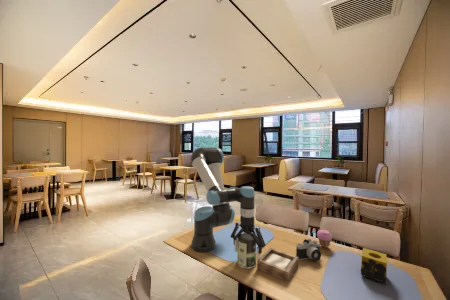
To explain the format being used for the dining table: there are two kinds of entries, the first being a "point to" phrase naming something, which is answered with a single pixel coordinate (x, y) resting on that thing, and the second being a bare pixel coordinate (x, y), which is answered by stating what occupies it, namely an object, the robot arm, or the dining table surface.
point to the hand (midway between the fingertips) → (247, 255)
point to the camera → (308, 250)
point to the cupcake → (324, 238)
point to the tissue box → (374, 265)
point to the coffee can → (246, 251)
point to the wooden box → (278, 264)
